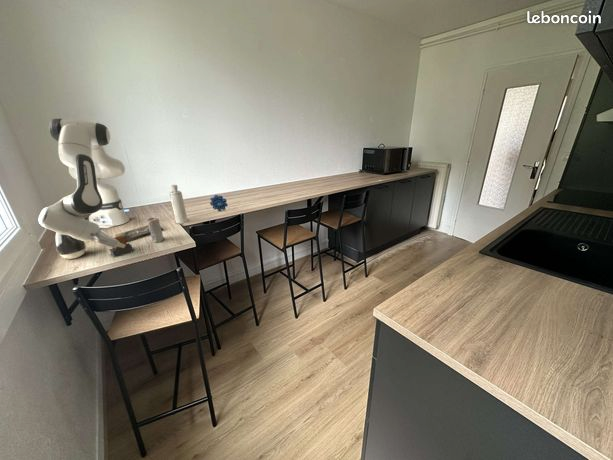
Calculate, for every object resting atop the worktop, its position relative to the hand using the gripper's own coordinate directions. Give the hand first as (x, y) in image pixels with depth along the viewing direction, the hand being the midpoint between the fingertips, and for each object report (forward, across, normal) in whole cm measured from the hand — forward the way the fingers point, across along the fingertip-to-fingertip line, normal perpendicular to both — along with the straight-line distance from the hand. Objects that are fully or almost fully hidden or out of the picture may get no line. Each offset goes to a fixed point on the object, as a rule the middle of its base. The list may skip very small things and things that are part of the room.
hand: (120, 243), depth 121 cm
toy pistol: (+14, +18, -7) cm, 23 cm away
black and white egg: (-7, +15, +14) cm, 22 cm away
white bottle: (+31, +16, -24) cm, 42 cm away
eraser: (+3, 0, +4) cm, 5 cm away
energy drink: (+15, 0, -8) cm, 17 cm away
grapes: (+49, +13, -42) cm, 66 cm away
